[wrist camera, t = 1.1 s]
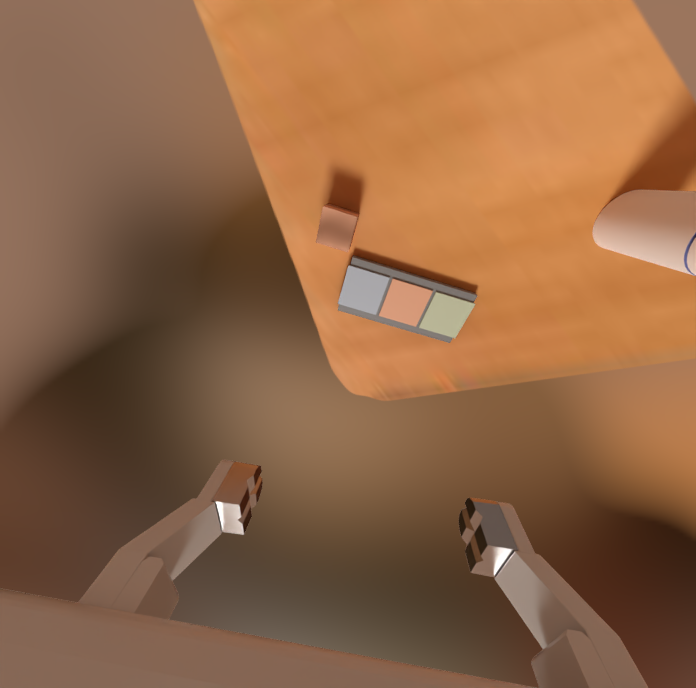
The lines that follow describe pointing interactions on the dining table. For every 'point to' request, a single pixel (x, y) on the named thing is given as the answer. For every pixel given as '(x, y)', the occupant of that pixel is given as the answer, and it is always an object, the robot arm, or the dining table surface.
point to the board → (404, 300)
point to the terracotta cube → (337, 227)
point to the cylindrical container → (651, 227)
